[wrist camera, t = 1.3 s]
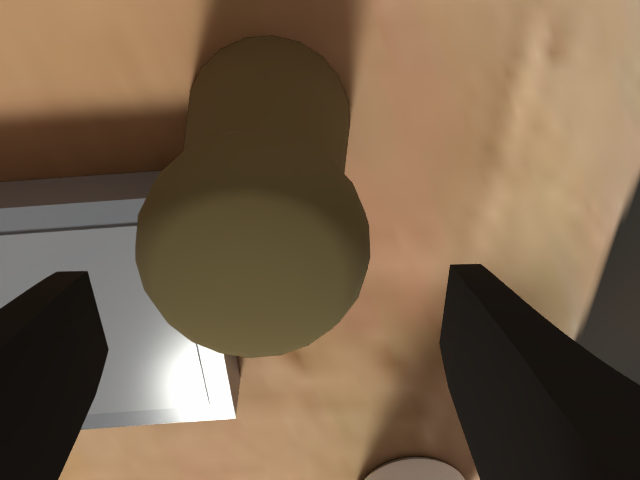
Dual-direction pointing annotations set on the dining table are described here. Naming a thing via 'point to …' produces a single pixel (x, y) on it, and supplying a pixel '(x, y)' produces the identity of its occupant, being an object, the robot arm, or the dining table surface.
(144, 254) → the olive bowling pin
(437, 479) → the can
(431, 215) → the dining table surface
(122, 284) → the grey flat square block
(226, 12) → the dining table surface
